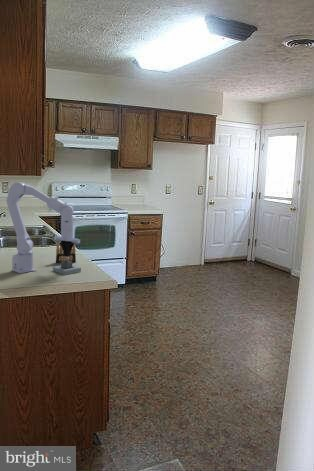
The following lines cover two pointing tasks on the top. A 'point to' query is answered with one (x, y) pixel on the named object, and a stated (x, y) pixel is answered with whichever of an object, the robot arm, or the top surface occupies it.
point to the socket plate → (67, 270)
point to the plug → (66, 263)
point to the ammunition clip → (61, 255)
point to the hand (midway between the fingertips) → (67, 255)
